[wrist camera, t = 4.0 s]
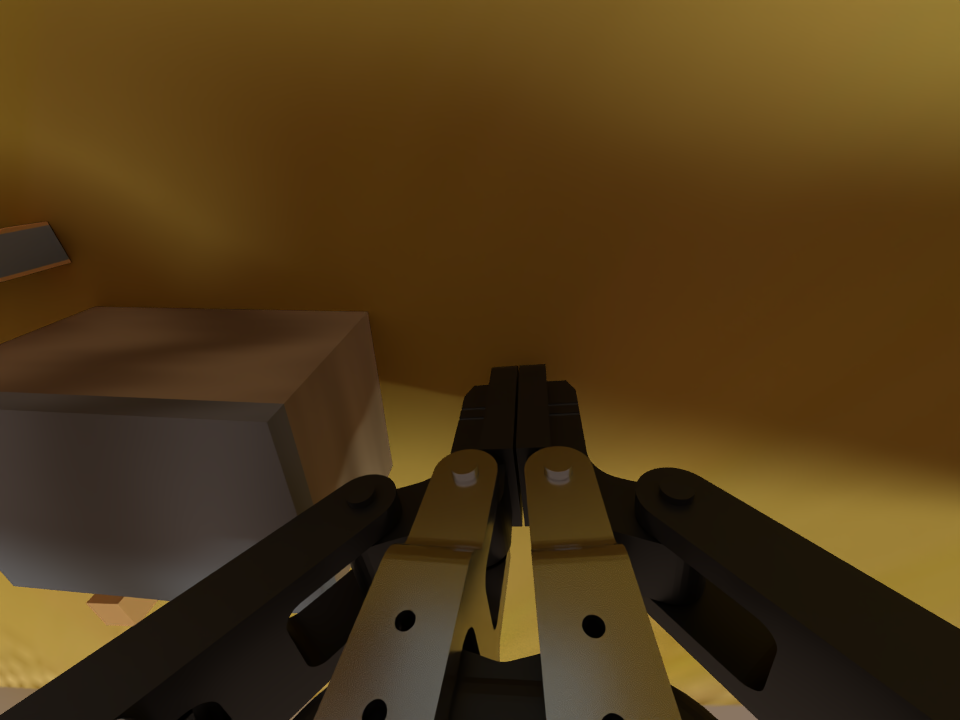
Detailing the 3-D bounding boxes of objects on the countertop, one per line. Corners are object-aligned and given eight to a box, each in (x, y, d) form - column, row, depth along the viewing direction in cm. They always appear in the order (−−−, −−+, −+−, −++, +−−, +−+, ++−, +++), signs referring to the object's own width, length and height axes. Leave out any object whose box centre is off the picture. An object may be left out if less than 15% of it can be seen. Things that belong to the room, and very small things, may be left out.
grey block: (369, 309, 13) (266, 422, 8) (393, 462, 15) (329, 616, 10) (99, 305, 13) (-148, 402, 9) (168, 450, 16) (13, 586, 11)
